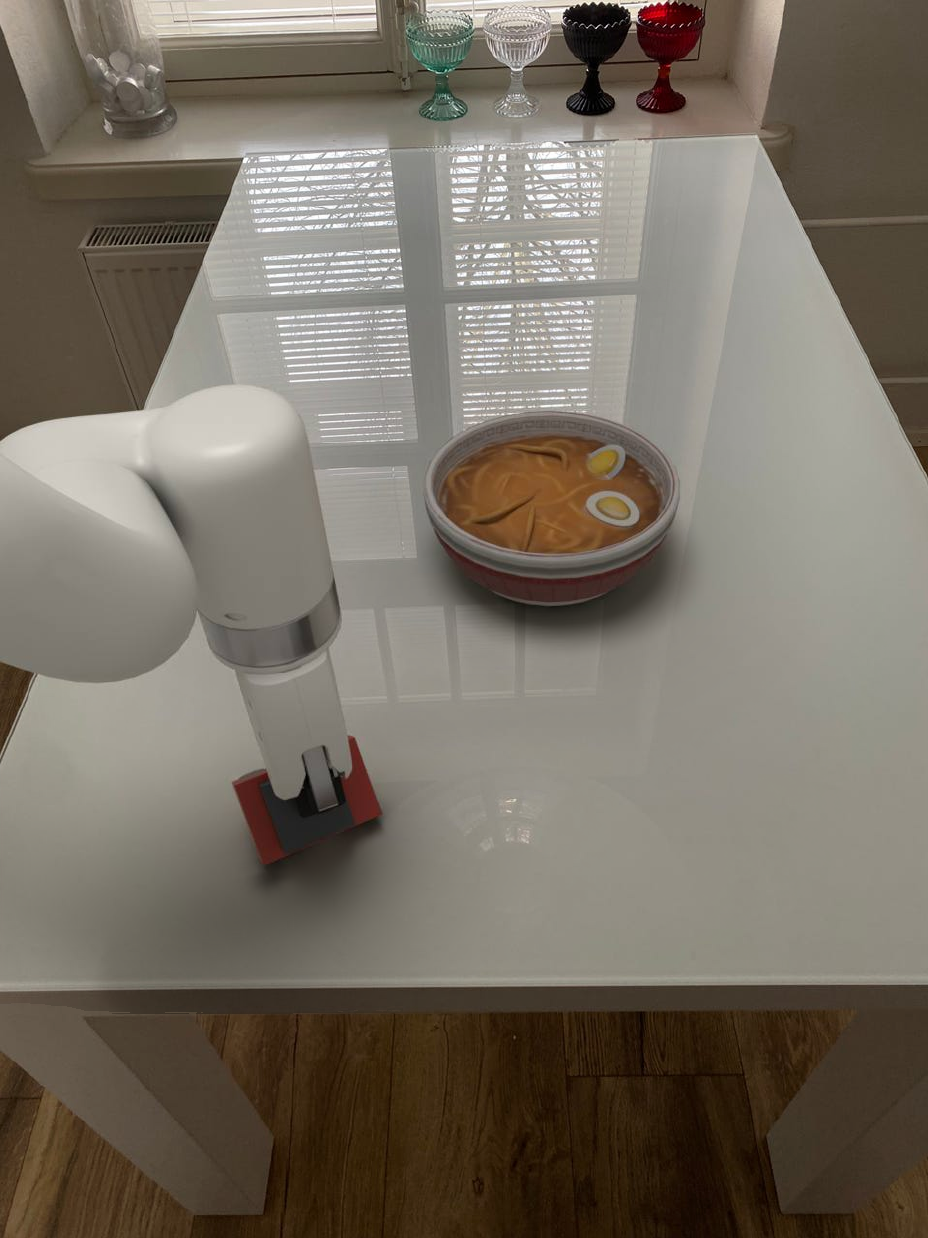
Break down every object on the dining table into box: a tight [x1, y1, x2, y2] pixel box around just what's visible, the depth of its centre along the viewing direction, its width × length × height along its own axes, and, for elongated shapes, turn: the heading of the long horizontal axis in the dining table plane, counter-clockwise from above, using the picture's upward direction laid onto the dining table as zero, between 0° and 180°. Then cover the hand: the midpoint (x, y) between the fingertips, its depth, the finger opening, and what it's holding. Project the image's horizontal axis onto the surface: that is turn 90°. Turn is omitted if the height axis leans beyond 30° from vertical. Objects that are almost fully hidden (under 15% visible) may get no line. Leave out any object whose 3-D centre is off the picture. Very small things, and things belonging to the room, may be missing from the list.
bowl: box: [422, 410, 681, 607], centre depth 89 cm, size 23×23×10 cm
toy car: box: [231, 734, 383, 866], centre depth 68 cm, size 9×5×6 cm
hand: (320, 802), depth 65 cm, fingers closed
